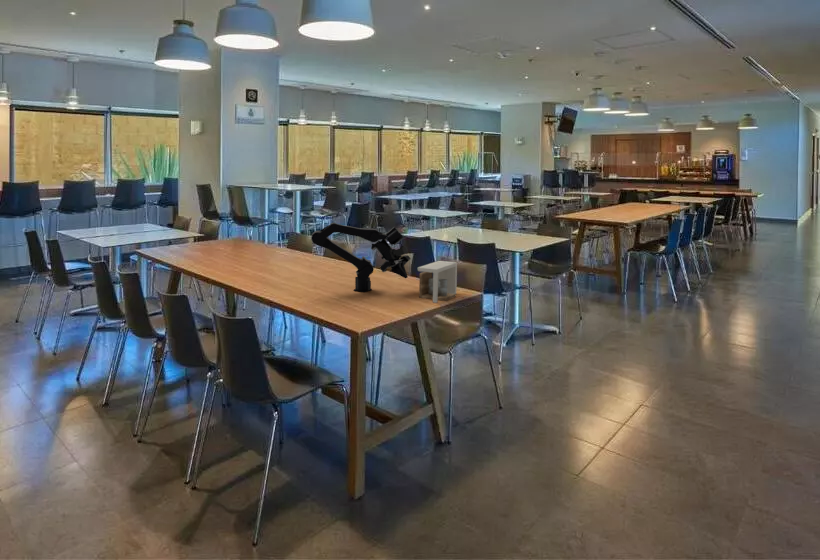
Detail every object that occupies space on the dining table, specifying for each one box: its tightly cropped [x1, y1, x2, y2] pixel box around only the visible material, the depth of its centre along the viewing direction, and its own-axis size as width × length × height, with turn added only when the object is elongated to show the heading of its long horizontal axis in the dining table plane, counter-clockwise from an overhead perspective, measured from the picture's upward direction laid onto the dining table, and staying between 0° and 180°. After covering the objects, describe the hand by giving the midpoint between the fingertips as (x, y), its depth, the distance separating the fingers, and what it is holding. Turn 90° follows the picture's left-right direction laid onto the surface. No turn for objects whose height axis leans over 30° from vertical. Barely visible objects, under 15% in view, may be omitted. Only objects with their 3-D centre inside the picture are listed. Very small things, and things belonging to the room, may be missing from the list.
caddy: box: [418, 271, 456, 302], centre depth 267 cm, size 13×10×11 cm
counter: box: [417, 260, 458, 304], centre depth 267 cm, size 9×21×14 cm, turn 152°
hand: (406, 277), depth 274 cm, fingers closed
